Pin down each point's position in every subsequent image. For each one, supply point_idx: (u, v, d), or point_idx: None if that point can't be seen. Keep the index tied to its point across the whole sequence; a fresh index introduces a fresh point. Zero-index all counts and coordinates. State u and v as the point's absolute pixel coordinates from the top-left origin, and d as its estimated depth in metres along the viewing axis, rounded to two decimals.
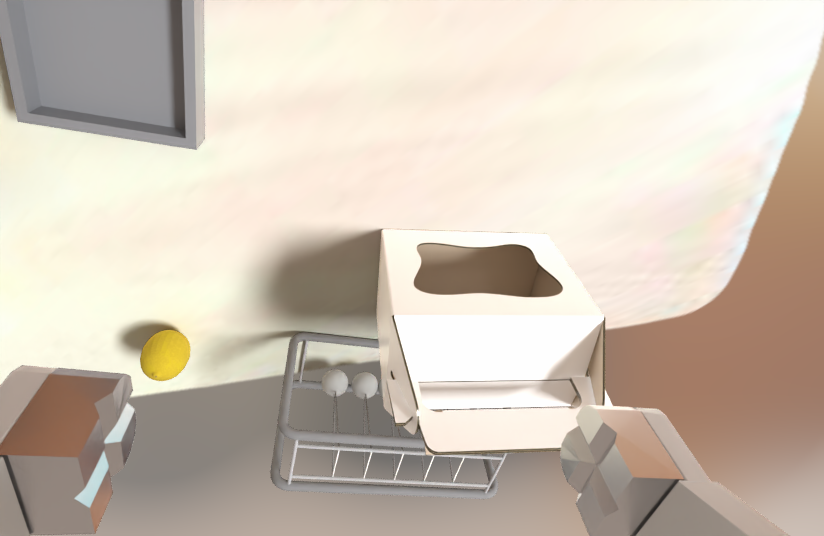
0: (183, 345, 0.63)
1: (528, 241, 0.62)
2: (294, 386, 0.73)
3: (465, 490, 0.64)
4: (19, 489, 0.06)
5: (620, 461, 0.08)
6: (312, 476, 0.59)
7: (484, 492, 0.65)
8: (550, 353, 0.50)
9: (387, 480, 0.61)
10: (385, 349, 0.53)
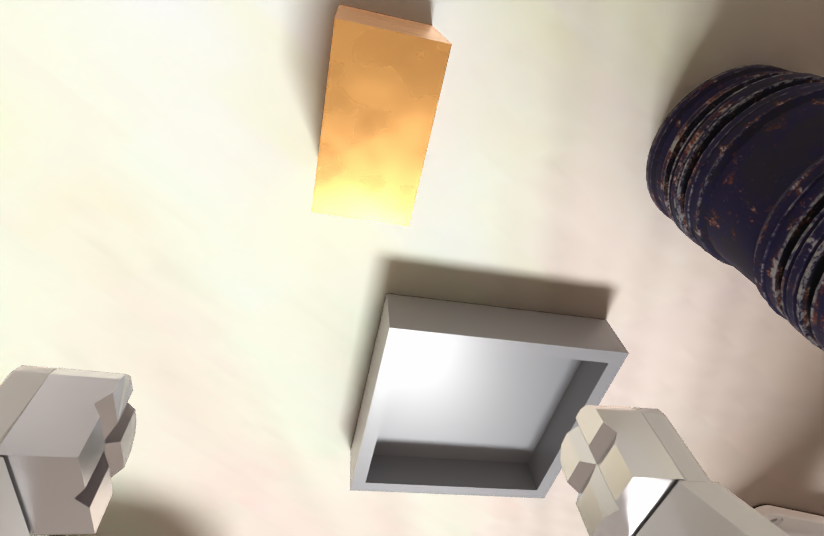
0: None
1: None
2: None
3: None
4: (19, 489, 0.06)
5: (620, 461, 0.08)
6: None
7: None
8: None
9: None
10: None
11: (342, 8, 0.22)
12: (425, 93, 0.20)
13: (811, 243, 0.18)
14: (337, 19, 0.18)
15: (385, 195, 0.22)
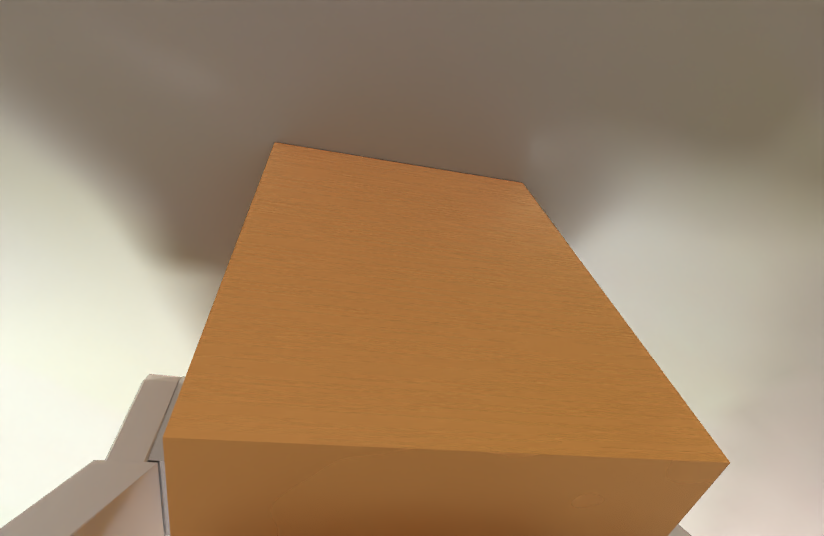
0: None
1: None
2: None
3: None
4: (164, 492, 0.07)
5: None
6: None
7: None
8: None
9: None
10: None
11: (272, 187, 0.07)
12: None
13: None
14: (180, 438, 0.03)
15: None
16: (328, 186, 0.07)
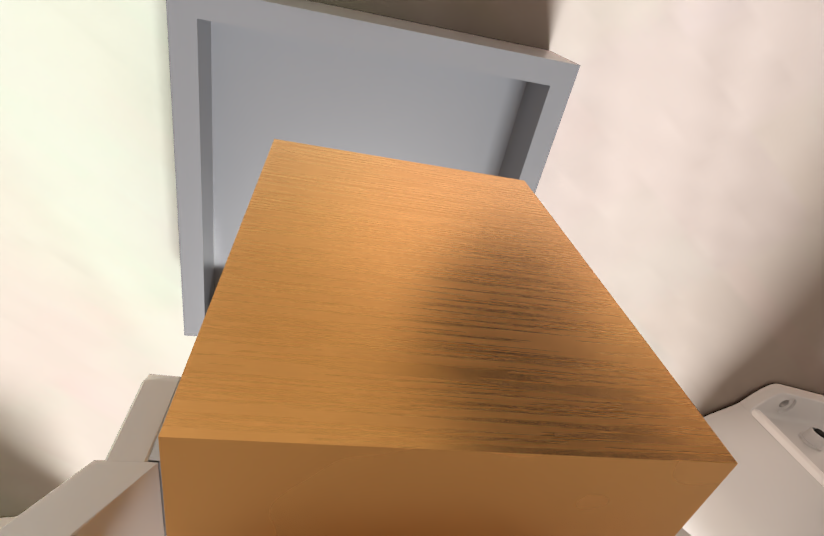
0: None
1: None
2: None
3: None
4: None
5: None
6: None
7: None
8: None
9: None
10: None
11: (271, 184, 0.07)
12: None
13: None
14: (176, 437, 0.03)
15: None
16: (328, 183, 0.07)
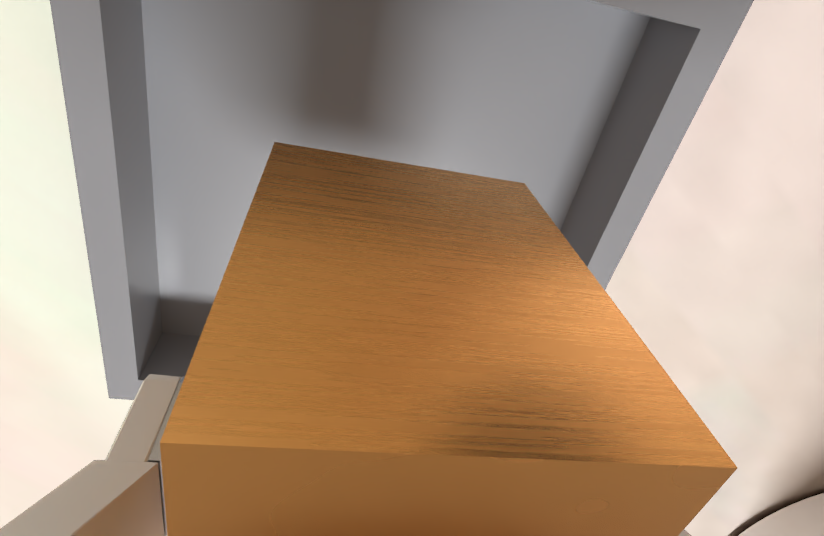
0: None
1: None
2: None
3: None
4: None
5: None
6: None
7: None
8: None
9: None
10: None
11: (272, 187, 0.07)
12: None
13: None
14: (178, 443, 0.03)
15: None
16: (329, 186, 0.07)
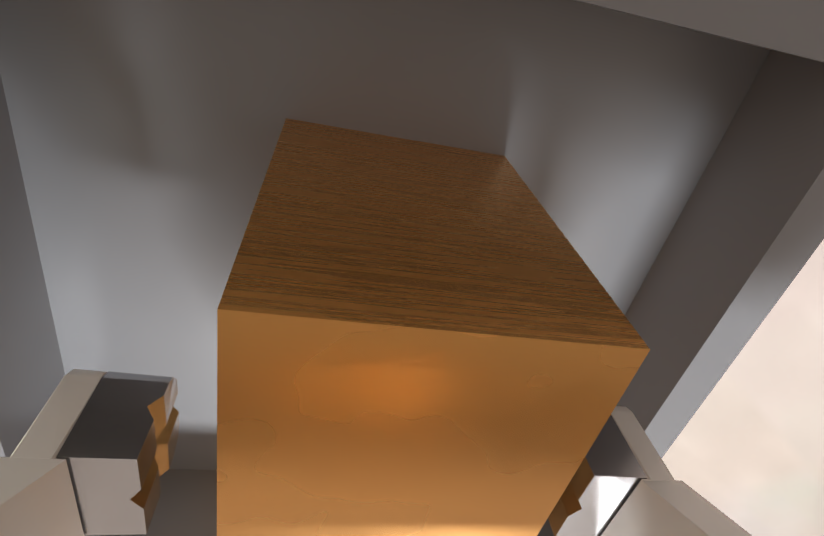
0: None
1: None
2: None
3: None
4: (78, 490, 0.07)
5: (583, 459, 0.08)
6: None
7: None
8: None
9: None
10: None
11: (286, 152, 0.08)
12: (540, 462, 0.06)
13: None
14: (230, 311, 0.05)
15: None
16: (333, 153, 0.08)
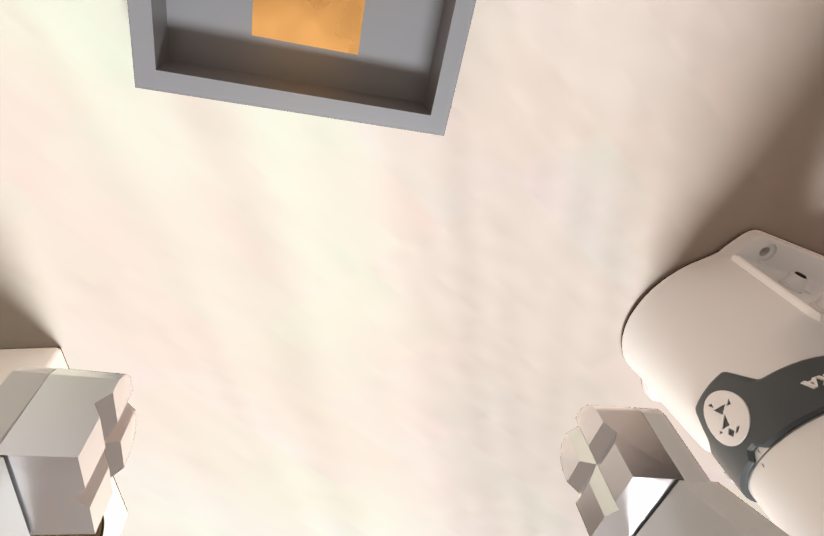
0: None
1: (111, 516, 0.44)
2: None
3: None
4: (19, 489, 0.06)
5: (620, 461, 0.08)
6: None
7: None
8: None
9: None
10: None
11: None
12: None
13: None
14: None
15: (330, 14, 0.21)
16: None
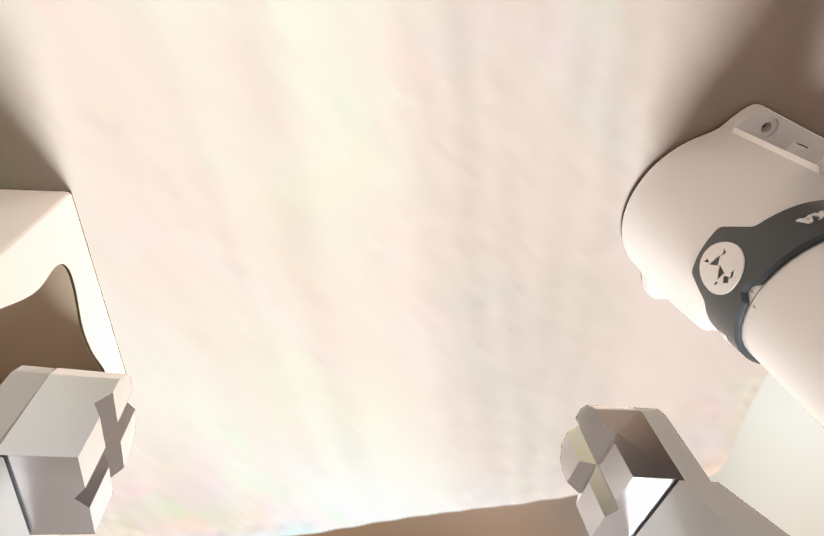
0: None
1: None
2: None
3: None
4: (19, 489, 0.06)
5: (620, 461, 0.08)
6: None
7: None
8: None
9: None
10: None
11: None
12: None
13: None
14: None
15: None
16: None
